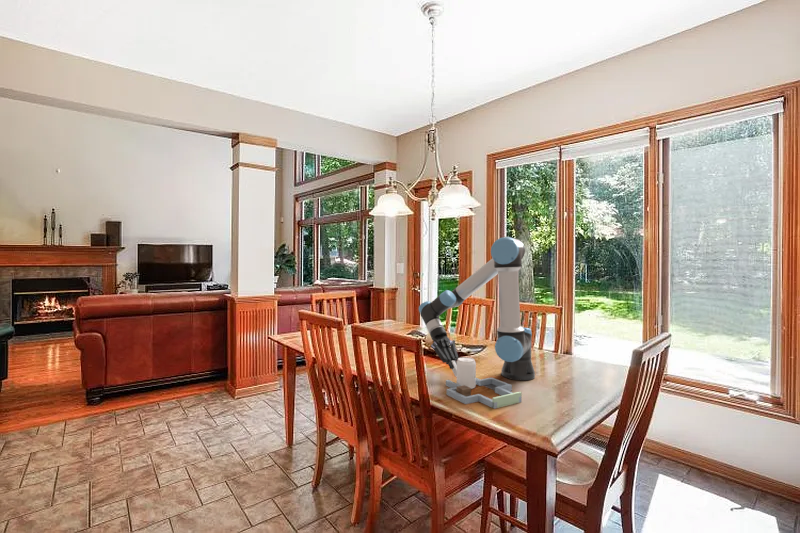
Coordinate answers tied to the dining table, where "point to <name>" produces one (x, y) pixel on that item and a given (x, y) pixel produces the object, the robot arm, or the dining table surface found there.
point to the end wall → (507, 399)
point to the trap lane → (490, 383)
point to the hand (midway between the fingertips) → (457, 374)
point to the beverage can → (466, 372)
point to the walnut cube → (464, 390)
